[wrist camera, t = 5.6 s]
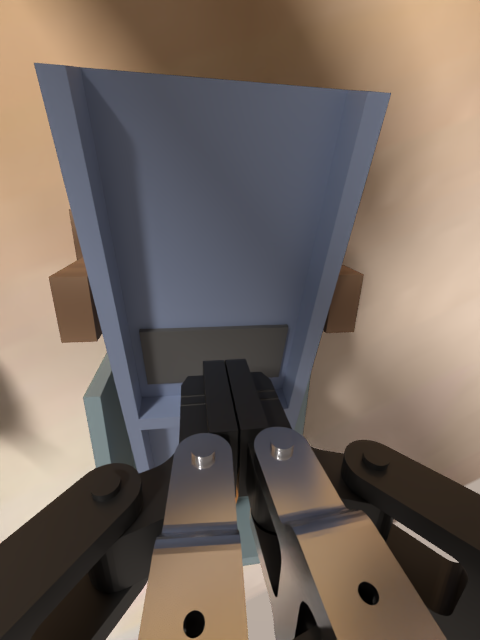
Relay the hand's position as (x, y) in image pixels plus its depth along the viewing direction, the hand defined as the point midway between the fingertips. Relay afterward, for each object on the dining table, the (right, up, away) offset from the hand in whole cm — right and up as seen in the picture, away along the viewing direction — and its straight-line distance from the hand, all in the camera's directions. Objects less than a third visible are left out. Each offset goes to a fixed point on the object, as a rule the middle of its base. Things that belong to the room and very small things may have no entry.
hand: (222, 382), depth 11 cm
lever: (-1, +1, +3) cm, 4 cm away
